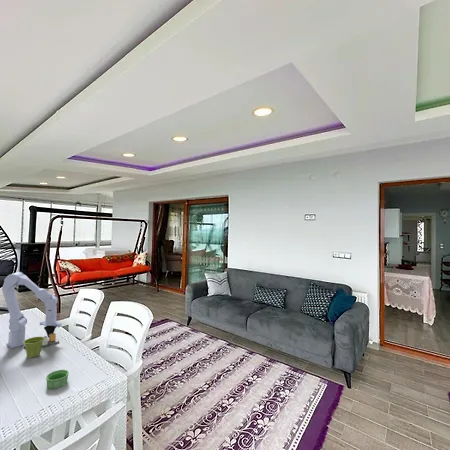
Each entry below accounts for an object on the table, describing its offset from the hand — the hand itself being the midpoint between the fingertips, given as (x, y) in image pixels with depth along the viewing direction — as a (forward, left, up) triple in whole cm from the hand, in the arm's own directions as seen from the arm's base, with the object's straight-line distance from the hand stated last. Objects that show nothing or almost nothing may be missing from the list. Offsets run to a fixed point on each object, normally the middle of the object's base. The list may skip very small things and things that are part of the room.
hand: (50, 337), depth 167 cm
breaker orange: (+3, 0, -1) cm, 3 cm away
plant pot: (+12, -14, -3) cm, 19 cm away
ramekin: (+52, -19, -3) cm, 56 cm away
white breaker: (+5, -5, -1) cm, 7 cm away
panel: (+2, -5, -3) cm, 6 cm away
